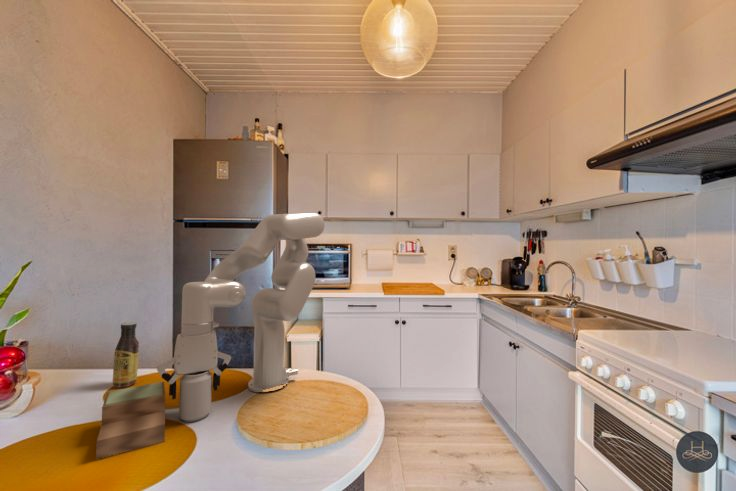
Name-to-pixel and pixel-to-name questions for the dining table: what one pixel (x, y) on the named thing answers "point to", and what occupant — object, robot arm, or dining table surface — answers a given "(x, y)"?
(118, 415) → the step stand
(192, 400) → the can
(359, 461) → the dining table surface
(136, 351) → the sauce bottle
